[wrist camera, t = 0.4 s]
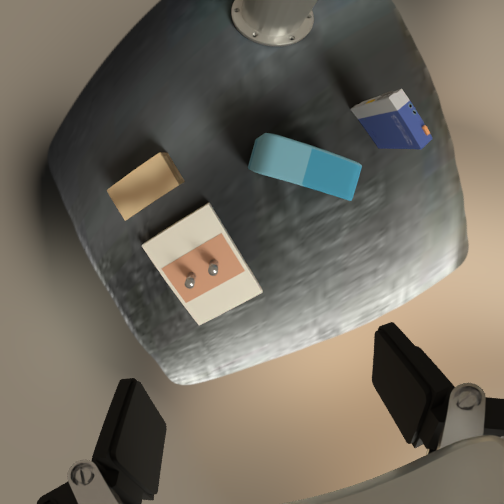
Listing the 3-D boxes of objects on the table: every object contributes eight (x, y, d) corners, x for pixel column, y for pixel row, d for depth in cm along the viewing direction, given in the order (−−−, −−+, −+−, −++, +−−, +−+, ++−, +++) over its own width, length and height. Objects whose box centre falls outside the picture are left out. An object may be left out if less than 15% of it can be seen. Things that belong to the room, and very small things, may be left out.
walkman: (389, 139, 40) (434, 138, 29) (378, 148, 40) (422, 149, 29) (361, 99, 38) (402, 86, 26) (349, 108, 38) (389, 96, 27)
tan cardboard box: (119, 186, 39) (106, 190, 34) (167, 152, 38) (159, 152, 34) (135, 213, 41) (125, 220, 36) (184, 181, 40) (179, 184, 35)
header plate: (144, 242, 42) (141, 245, 41) (209, 202, 41) (208, 203, 40) (199, 320, 47) (198, 325, 46) (261, 288, 46) (262, 292, 45)
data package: (246, 168, 40) (254, 172, 29) (254, 138, 39) (265, 131, 28) (323, 190, 42) (356, 203, 31) (331, 162, 41) (367, 165, 29)
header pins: (185, 274, 43) (182, 282, 40) (215, 257, 42) (214, 264, 40) (190, 281, 43) (188, 290, 40) (220, 265, 43) (219, 272, 40)
